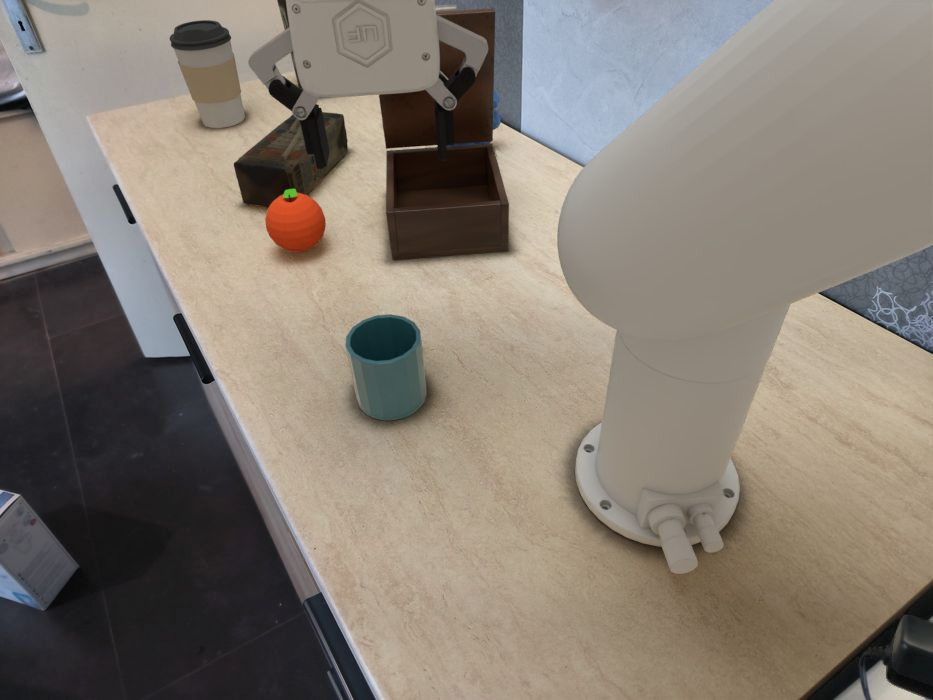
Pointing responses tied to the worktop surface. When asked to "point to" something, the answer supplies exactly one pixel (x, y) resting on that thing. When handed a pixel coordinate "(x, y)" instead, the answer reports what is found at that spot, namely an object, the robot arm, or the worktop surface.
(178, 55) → the coffee cup
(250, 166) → the beverage carton
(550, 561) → the worktop surface
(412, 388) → the cup
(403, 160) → the brown wooden box
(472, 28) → the lid
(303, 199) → the clementine
